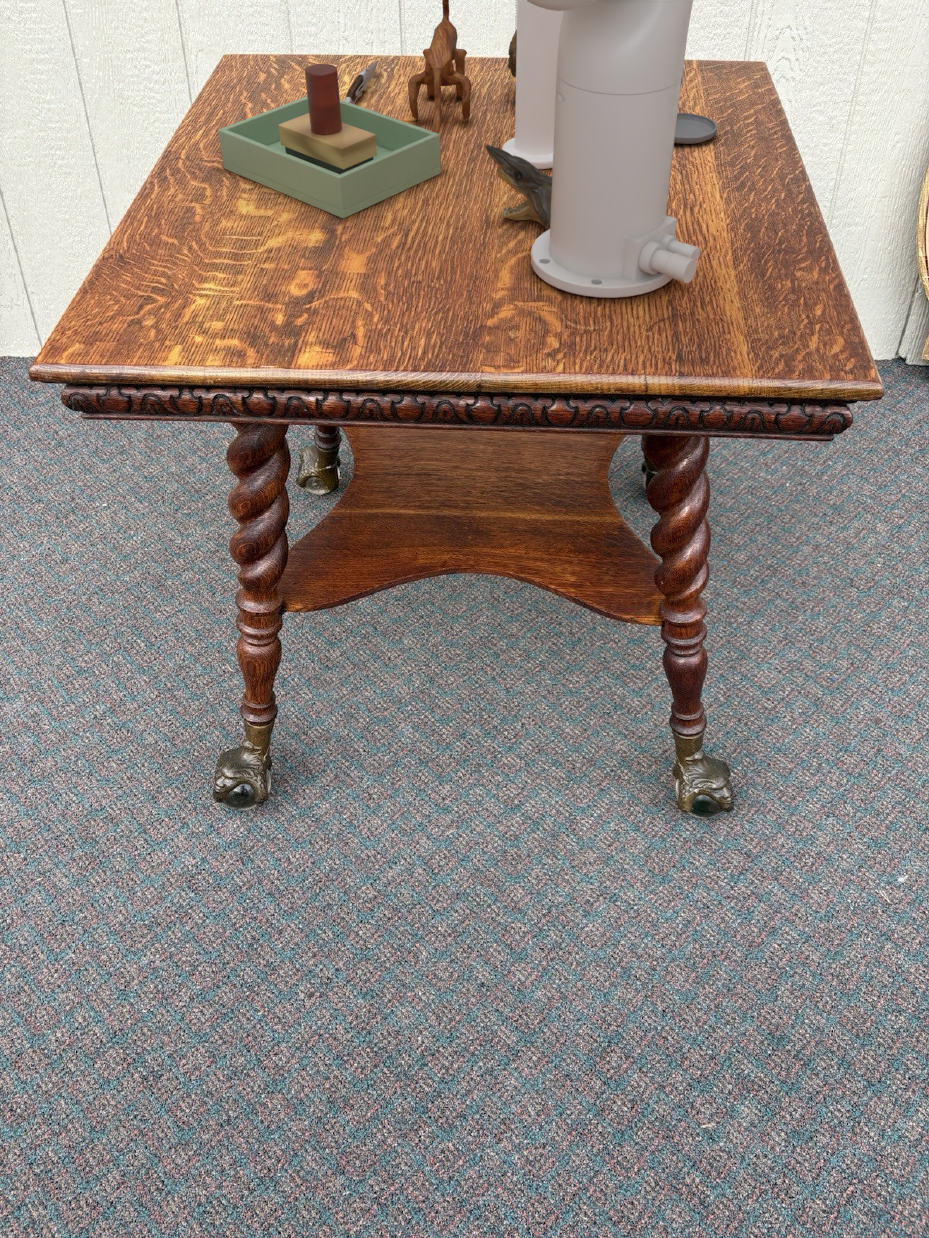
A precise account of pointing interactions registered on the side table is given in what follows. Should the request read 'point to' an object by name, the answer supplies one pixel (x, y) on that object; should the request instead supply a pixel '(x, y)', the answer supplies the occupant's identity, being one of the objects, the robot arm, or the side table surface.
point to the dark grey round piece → (693, 128)
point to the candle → (535, 84)
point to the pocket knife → (360, 83)
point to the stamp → (326, 127)
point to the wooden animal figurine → (442, 70)
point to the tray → (394, 169)
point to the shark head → (524, 187)
